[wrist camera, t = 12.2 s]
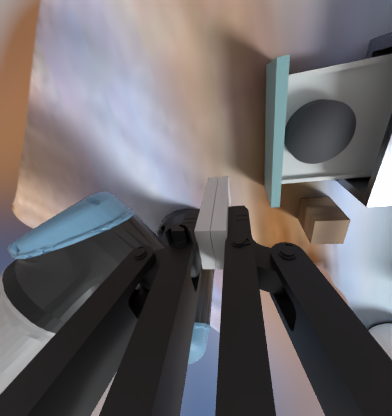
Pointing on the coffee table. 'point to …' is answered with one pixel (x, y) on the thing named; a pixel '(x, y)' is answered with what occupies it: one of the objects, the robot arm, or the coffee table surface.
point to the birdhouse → (330, 90)
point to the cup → (383, 336)
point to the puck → (319, 131)
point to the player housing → (387, 157)
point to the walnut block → (322, 220)
